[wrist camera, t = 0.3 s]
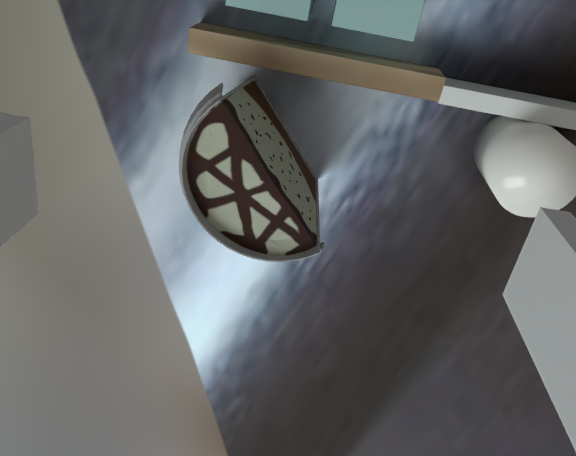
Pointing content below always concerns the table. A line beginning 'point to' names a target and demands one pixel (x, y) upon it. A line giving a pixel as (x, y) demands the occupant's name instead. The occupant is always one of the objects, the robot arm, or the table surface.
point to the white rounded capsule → (526, 165)
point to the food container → (249, 177)
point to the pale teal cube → (379, 17)
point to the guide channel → (316, 61)
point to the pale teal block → (277, 7)
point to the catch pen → (509, 103)
